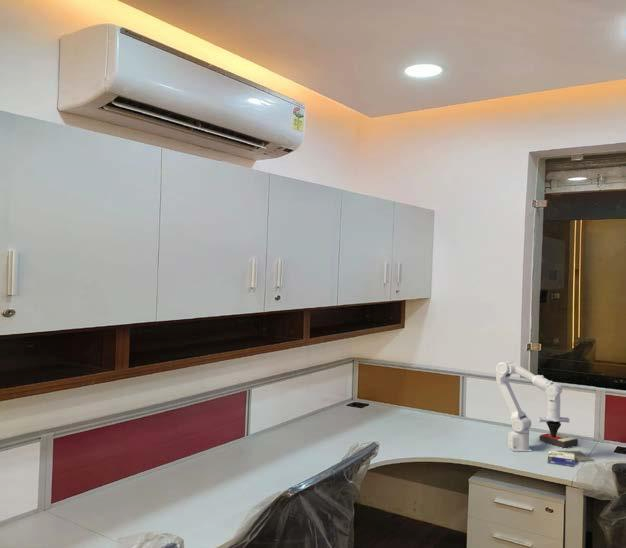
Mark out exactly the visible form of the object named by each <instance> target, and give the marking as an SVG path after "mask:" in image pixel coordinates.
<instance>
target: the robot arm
mask: <svg viewBox="0 0 626 548" xmlns="http://www.w3.org/2000/svg"><path fill="white" fill-rule="evenodd" d="M494 370H495V379H496V380H495V381H496V383H497V386H498V388H499V390H500V392H501V395H502V397H503V399H504V401H505V404H506V405H507V407H508V410H509V412H510V421H511V427H512V429H513V430H512V431H508V435H507V437H508V438H507V440H508V441H507V442H508V443H507V447H508V448H509V449H510V450H512V452H532V451H533V450H532V449H531V448H530V430H529V429H530V428H531V427H532V421H531V419H530V418H529V417H528V416H527V414H526V412H524V411H523V410H522V408H521V406H520V404H519V402H518V400H517V398H516V395H515V393H514V391H513V388H512V387H511V384H510V382H509V379H510V377H511V376H512V375H516V374H517V375H519V376H521V377H523V378H525V379H527V380H529V381H530V382H532V385H533V386H534V387H536V388H537V389H539V390H542V391H544V393H545V394H546V395H547V400H546V401H547V402H546V403H547V404H546V409H547V410H546V412H547V414H546V416H541V417H537V422H538V423H546V425H547V428H548V430H549V433H550V434H551V437H552V438H556V434H557V433H558V431H559V429H560V427H561V426H562V423H567V424H568V423H570V418H569V417H566V416H565V417H563V416H561V394H562V392H563V387H562V385H561V384H560V383H558V382H554V381H553V380H549V379H547V378H546V377H545V376H544V375H543V374H541V375H540V374H537V375H535V374H534V373H532V372H531V371H529V370H527V369H526V368H524V366H523V367H522V366H521V365H520V364H519V363H516V362H514V361H513V360H508V359H507V360H506V361H500V362H498V364H497V365H496V367H495V369H494Z"/></svg>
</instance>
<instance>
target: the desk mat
mask: <svg viewBox="0 0 626 548" xmlns="http://www.w3.org/2000/svg"><path fill="white" fill-rule="evenodd" d="M557 452H564V453H572V454H574V455H575V461H594V462H595V460H594V458H591V457H590V456H589V455H587V454H585V453H583V452H582V451H580V450H557Z"/></svg>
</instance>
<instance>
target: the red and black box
mask: <svg viewBox="0 0 626 548" xmlns="http://www.w3.org/2000/svg"><path fill="white" fill-rule="evenodd" d="M538 439H539V441H540V442H542V443H544V444H545V443H546V444H548V445H551V444H552V445H551V446H556V447H557V446H558V447H557V448H560V447H562V448H561V449H564V448H566V449H569V448H568V447H570V448H573V447H572V446H575V447H578V446H579V444H578V443H579V439H578V438H577V437H572V436H569V435H565V434H562V433H558V432H557V434H556V438H552V437H551V434H550V432H547V433H542V434H540V435H539V438H538ZM577 445H578V446H577Z"/></svg>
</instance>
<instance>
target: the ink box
mask: <svg viewBox="0 0 626 548" xmlns="http://www.w3.org/2000/svg"><path fill="white" fill-rule="evenodd" d="M546 460H547V464H552V465H553V464H554V465H560V466H567V467H574V466H575V463H576V462H575V455H574V454H572V453H564V452H558V451H554V450H549V451H548V453H547V459H546Z"/></svg>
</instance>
